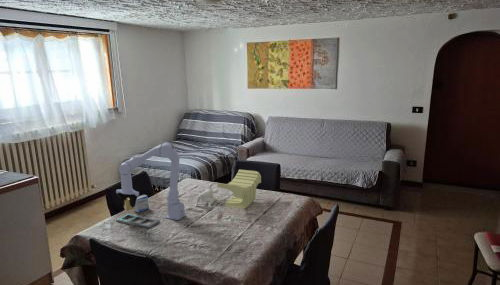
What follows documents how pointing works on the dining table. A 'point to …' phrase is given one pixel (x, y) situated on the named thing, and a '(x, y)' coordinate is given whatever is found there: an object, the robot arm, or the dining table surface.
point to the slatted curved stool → (242, 188)
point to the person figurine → (208, 196)
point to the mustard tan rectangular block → (127, 204)
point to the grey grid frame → (140, 224)
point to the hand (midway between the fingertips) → (128, 206)
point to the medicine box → (141, 203)
